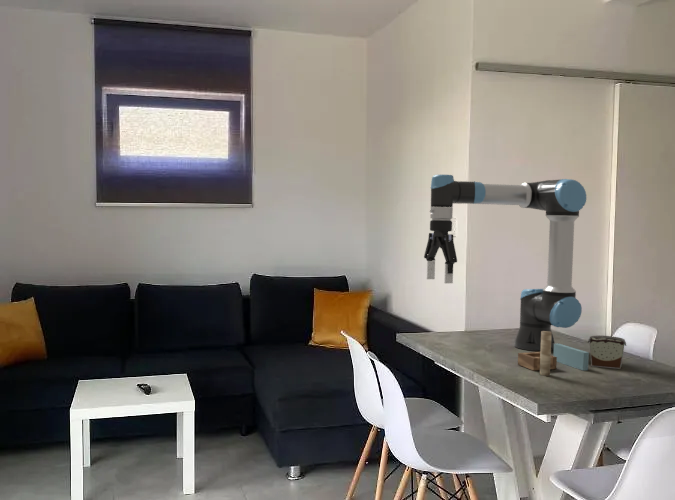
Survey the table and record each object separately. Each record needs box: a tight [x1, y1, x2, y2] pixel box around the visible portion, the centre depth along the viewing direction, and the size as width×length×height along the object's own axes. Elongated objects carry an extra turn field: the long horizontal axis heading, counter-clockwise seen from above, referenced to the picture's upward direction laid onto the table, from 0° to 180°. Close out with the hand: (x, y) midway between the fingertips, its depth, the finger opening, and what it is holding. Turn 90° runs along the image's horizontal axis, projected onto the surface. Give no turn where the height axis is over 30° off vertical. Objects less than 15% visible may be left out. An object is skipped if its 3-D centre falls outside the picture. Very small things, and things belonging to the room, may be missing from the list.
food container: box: [587, 335, 627, 370], centre depth 236 cm, size 12×6×10 cm, turn 71°
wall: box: [552, 342, 590, 372], centre depth 236 cm, size 2×16×6 cm, turn 19°
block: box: [517, 351, 557, 371], centre depth 232 cm, size 9×9×4 cm
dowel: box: [539, 331, 553, 377], centre depth 221 cm, size 3×3×14 cm
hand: (439, 281), depth 236 cm, fingers open, 13 cm apart
